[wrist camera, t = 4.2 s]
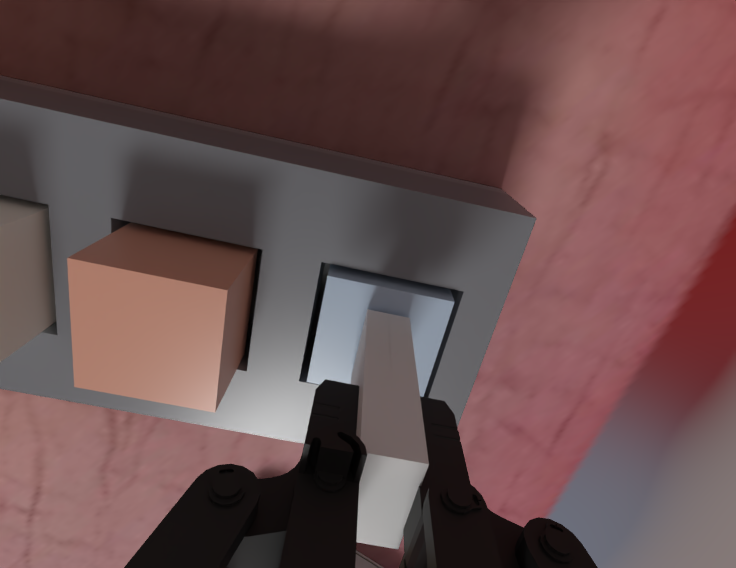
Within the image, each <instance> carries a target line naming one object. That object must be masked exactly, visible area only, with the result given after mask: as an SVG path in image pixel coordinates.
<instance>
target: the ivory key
mask: <svg viewBox="0 0 736 568" xmlns="http://www.w3.org/2000/svg"><path fill="white" fill-rule="evenodd" d="M56 321H57V320H56V306H55V292H54V278H53V263H52V249H51V235H50V221H49V206H48V205H45V204H40V203H36V202H31V201H26V200H21V199H16V198H12V197H7V196H2V195H0V362H1V361H3V360H4V359H5V358H7V357H8V356H10V355H11V354H12V353H14V352H15V351H16V350H18V349H19V348H20V347H22V346H23V345H25V344H26V343H27V342H29V341H30V340H31V339H33V338H34V337H35V336H37V335H38V334H40V333H41V332H42V331H44V330H45V329H46V328H48V327H49V326H50V325H52V324H53V323H54V322H56Z"/></svg>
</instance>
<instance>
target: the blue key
mask: <svg viewBox="0 0 736 568" xmlns="http://www.w3.org/2000/svg"><path fill="white" fill-rule="evenodd" d="M453 305H454V299H453V296H452V293H451V291H450V289H449V288H444V287H439V286H435V285H430V284H425V283H420V282H416V281H411V280H406V279H401V278H396V277H392V276H387V275H382V274H377V273H373V272H368V271H363V270H358V269H353V268H349V267H344V266H339V265H334V264H330V268H329V272H328V276H327V281H326V286H325V291H324V296H323V301H322V306H321V311H320V316H319V321H318V327H317V332H316V337H315V342H314V347H313V352H312V357H311V362H310V367H309V372H308V377H307V382H309V383H314V384H319V385H320V384H321V383H322V382H323V381H324V380H325V379H327V380H332V381H337V382H342V383H348V384H351V375H352V370H353V366H354V362H355V358H356V354H357V350H358V346H359V341H360V337H361V333H362V329H363V325H364V321H365V317H366V313H367V309H369V310H373V311H378V312H383V313H388V314H393V315H398V316H403V317H408V318H410V324H411V332H412V339H413V347H414V354H415V362H416V370H417V377H418V385H419V392H420V396H421V397H423V396H424V393H425V390H426V387H427V384H428V381H429V378H430V375H431V372H432V369H433V366H434V363H435V360H436V357H437V354H438V351H439V348H440V345H441V342H442V339H443V336H444V333H445V330H446V327H447V324H448V321H449V317H450V314H451V311H452V308H453Z"/></svg>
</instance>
